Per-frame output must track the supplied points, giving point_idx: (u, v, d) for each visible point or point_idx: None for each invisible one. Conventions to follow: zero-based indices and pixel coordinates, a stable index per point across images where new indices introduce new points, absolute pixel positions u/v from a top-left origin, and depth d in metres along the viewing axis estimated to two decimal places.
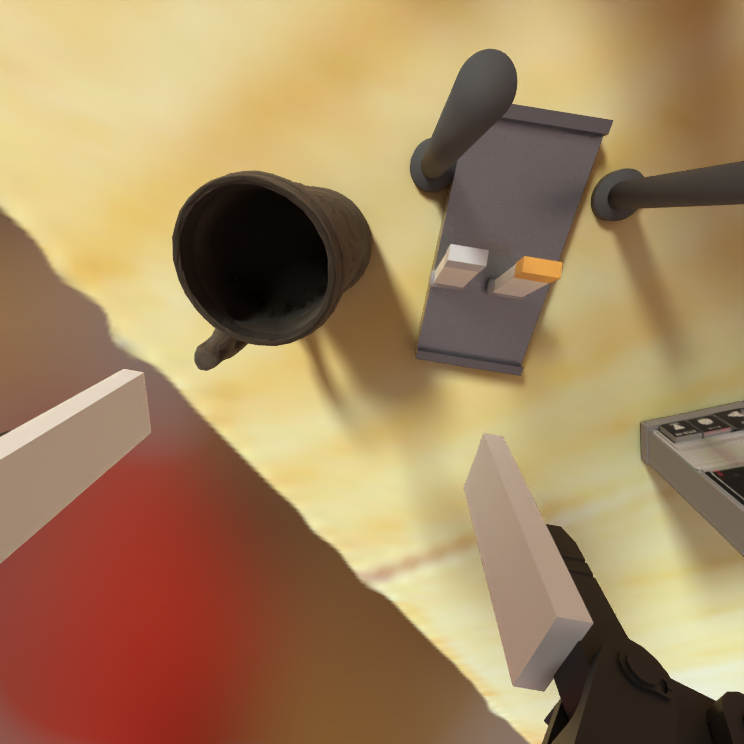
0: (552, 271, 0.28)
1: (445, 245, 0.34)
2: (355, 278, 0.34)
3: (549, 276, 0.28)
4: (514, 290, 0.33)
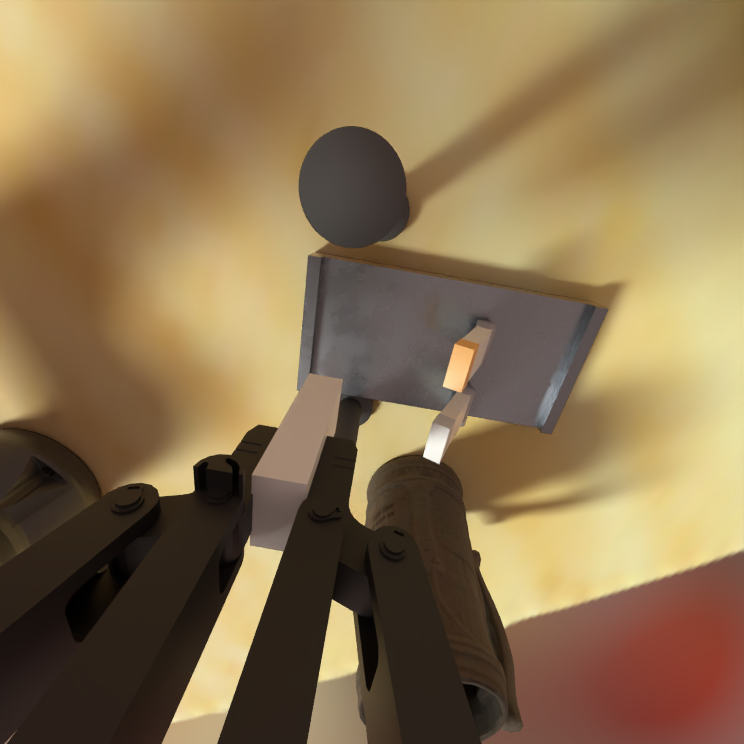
0: (464, 357, 0.22)
1: (423, 402, 0.32)
2: (448, 491, 0.34)
3: (470, 361, 0.22)
4: (482, 352, 0.27)
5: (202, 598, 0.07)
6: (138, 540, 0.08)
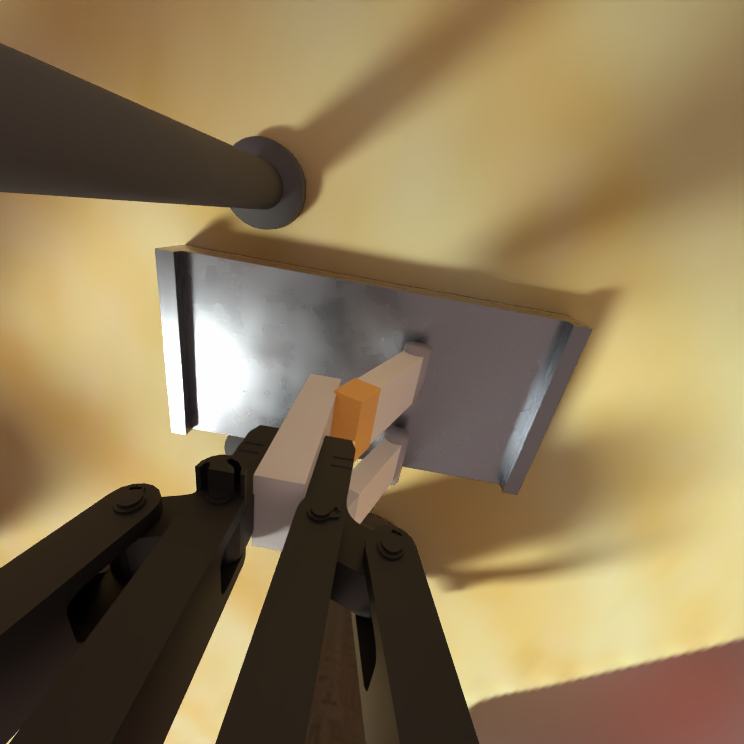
0: (350, 412, 0.14)
1: None
2: None
3: (359, 419, 0.14)
4: (405, 391, 0.18)
5: (203, 598, 0.07)
6: (140, 540, 0.08)
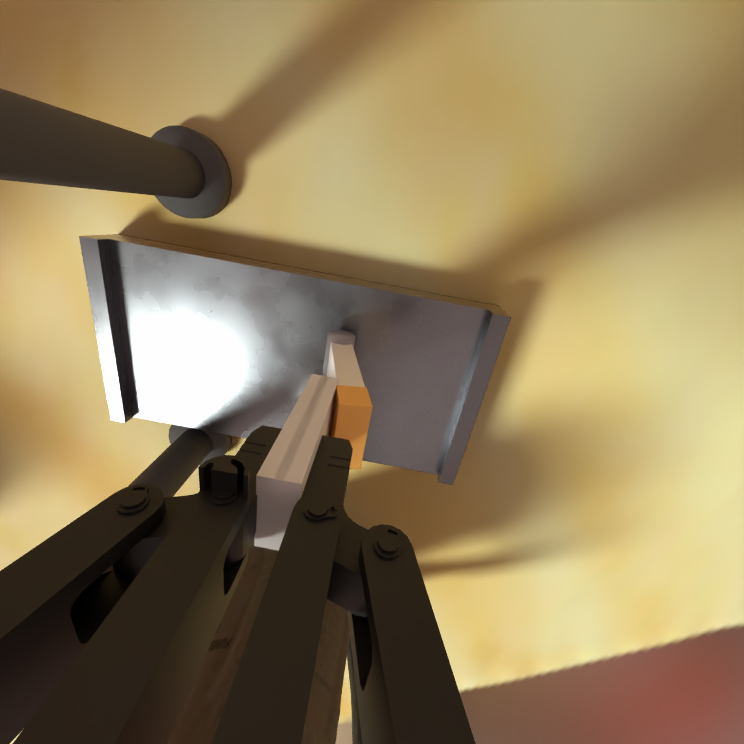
0: (358, 420, 0.14)
1: None
2: None
3: (367, 423, 0.14)
4: None
5: (206, 598, 0.07)
6: (143, 541, 0.08)
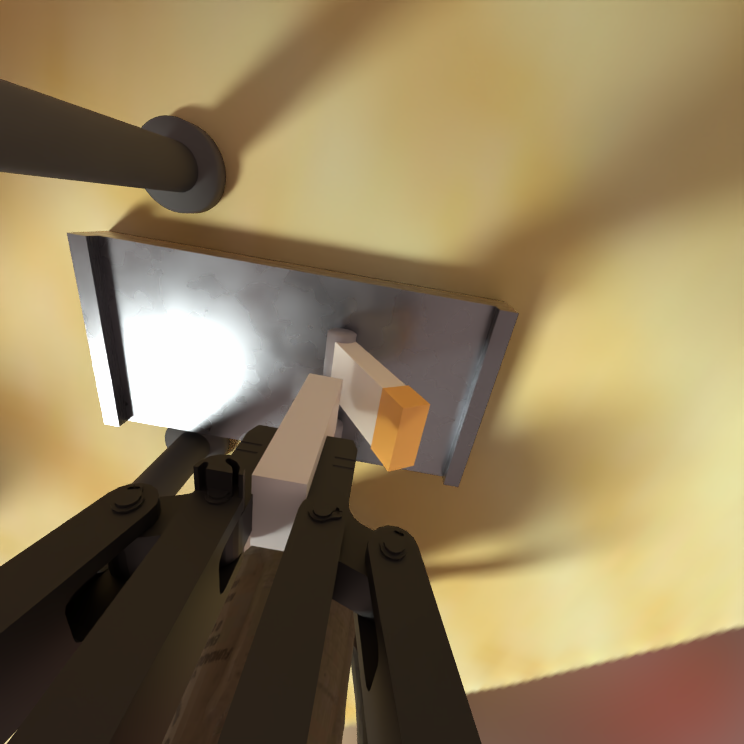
0: (417, 420, 0.14)
1: None
2: None
3: None
4: None
5: (202, 597, 0.07)
6: (138, 540, 0.08)
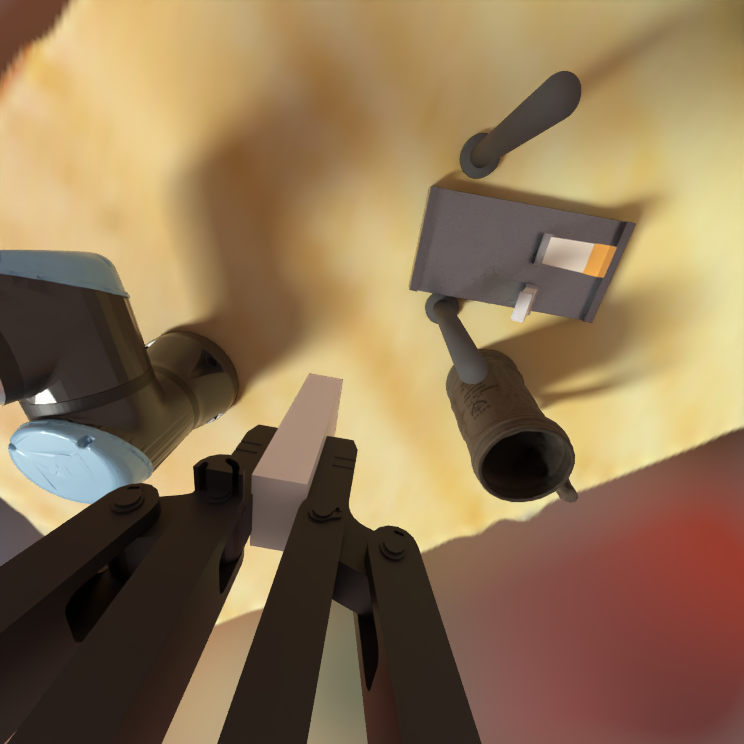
0: (611, 253, 0.35)
1: (499, 300, 0.45)
2: (514, 369, 0.47)
3: (612, 255, 0.36)
4: None
5: (201, 597, 0.07)
6: (138, 540, 0.08)
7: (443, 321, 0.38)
